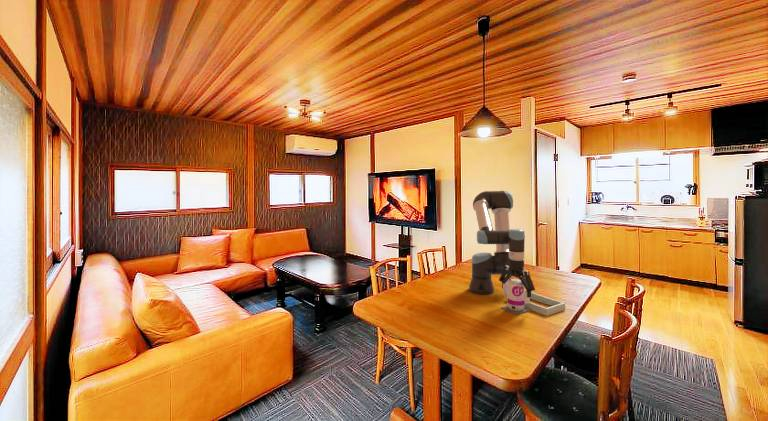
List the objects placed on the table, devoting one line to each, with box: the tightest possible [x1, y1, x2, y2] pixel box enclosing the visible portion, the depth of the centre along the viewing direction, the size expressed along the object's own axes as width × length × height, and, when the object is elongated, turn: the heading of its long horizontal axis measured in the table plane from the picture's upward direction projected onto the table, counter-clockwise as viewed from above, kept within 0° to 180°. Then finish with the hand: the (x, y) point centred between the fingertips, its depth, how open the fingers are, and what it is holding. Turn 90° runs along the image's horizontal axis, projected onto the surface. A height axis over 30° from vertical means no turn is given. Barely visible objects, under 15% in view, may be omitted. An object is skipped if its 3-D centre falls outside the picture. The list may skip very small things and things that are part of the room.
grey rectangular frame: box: [524, 289, 566, 317], centre depth 165 cm, size 24×15×4 cm, turn 28°
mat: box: [501, 305, 532, 316], centre depth 160 cm, size 10×10×1 cm
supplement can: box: [506, 278, 526, 311], centre depth 159 cm, size 8×8×15 cm
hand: (515, 299), depth 159 cm, fingers open, 13 cm apart
